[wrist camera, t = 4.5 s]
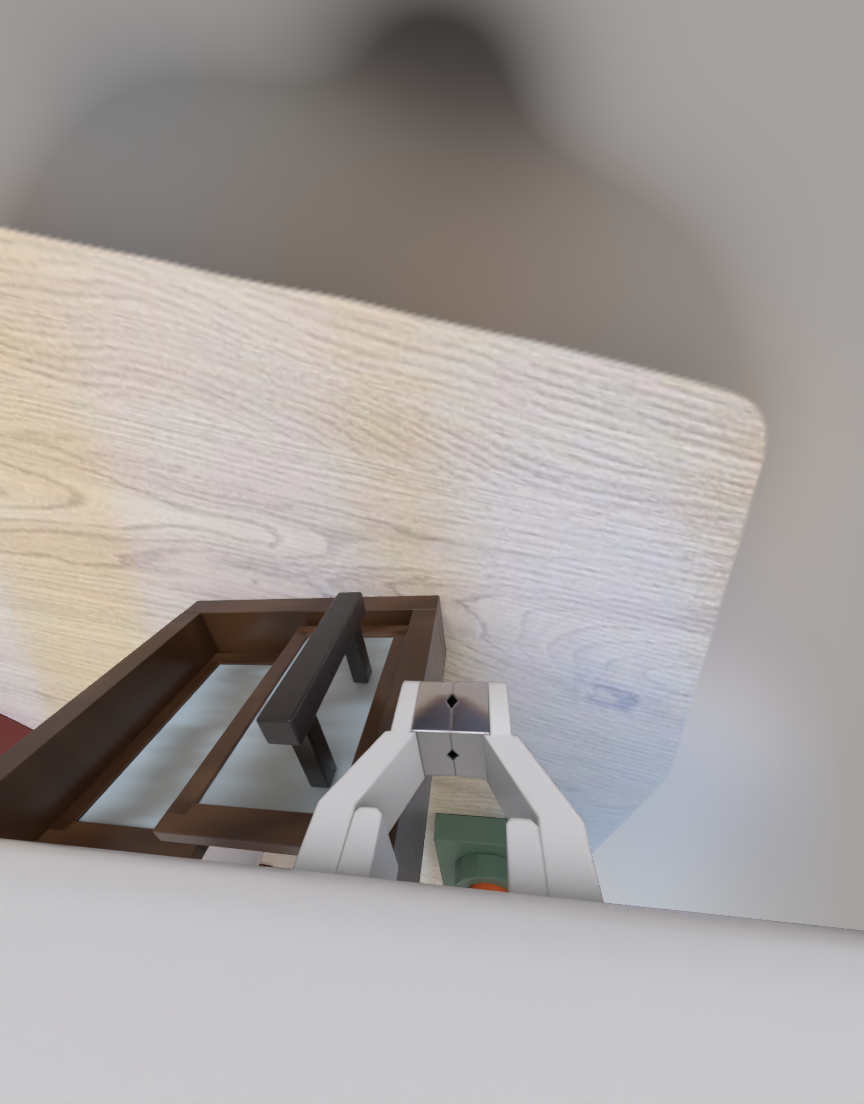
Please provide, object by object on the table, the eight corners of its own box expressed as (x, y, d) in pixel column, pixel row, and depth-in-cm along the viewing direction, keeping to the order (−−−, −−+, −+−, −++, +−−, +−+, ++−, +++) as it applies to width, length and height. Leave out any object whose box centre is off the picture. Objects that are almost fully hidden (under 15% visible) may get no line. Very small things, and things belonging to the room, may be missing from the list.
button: (507, 881, 31) (509, 907, 30) (508, 898, 33) (509, 924, 31) (468, 877, 32) (468, 902, 30) (471, 894, 33) (470, 919, 32)
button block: (538, 821, 32) (545, 875, 29) (535, 869, 37) (541, 921, 33) (436, 812, 34) (431, 863, 30) (445, 860, 38) (441, 909, 35)
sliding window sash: (401, 559, 19) (313, 764, 9) (414, 633, 21) (356, 862, 11) (277, 564, 20) (76, 749, 10) (302, 634, 22) (160, 841, 12)
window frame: (439, 595, 22) (373, 957, 8) (446, 653, 24) (404, 1015, 10) (197, 600, 25) (-153, 876, 11) (223, 652, 27) (-41, 934, 13)
